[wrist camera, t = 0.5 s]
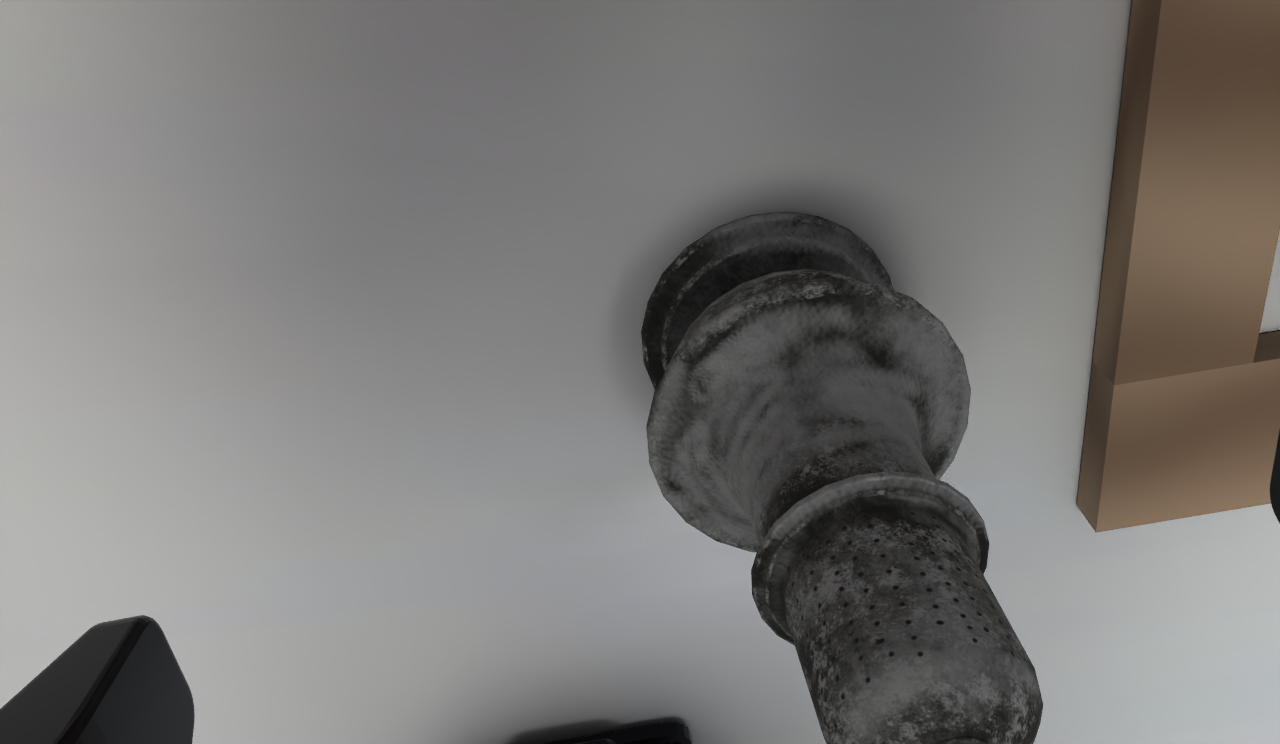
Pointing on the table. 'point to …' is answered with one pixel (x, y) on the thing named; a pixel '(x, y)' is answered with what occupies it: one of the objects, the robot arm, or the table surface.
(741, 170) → the table surface
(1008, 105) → the table surface
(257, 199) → the table surface
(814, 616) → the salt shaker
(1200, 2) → the socket board
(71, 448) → the table surface
